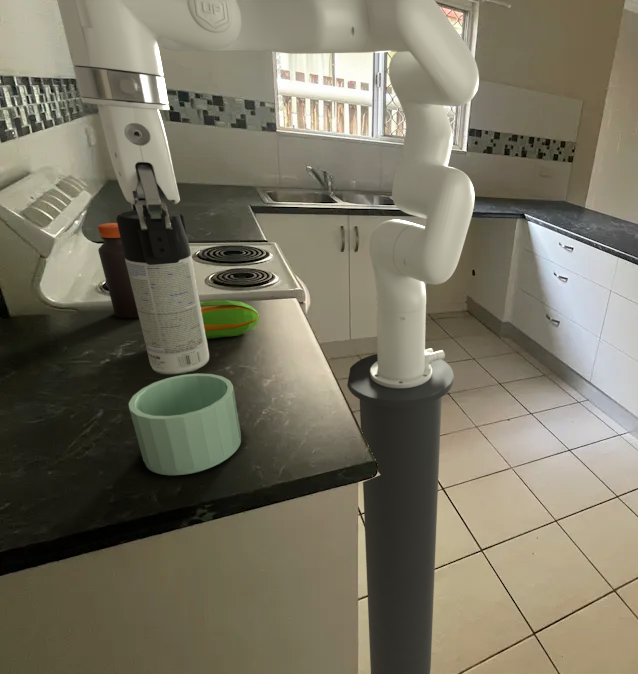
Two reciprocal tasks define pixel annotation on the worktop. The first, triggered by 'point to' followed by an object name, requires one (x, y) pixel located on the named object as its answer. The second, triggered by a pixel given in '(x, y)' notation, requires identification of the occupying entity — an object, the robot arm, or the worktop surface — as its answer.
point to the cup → (186, 423)
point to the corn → (227, 318)
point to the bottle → (116, 272)
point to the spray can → (166, 300)
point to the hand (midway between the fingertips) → (158, 254)
